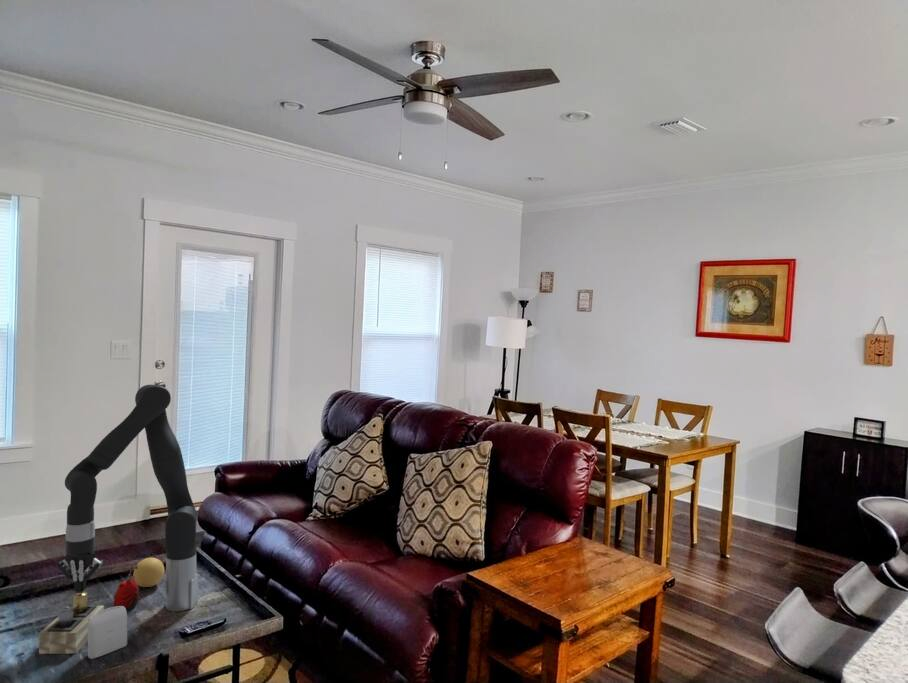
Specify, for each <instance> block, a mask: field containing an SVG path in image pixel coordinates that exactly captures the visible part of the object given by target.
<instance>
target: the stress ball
mask: <svg viewBox="0 0 908 683" xmlns="http://www.w3.org/2000/svg"><path fill="white" fill-rule="evenodd" d="M135 567H138V569H133V577H132V579H135V582H136V584H137V585H138V586H140V587H143V588H145V587H150V588H153V587H154V586H156V585H157V584H159V583H160V582H161V580H162V579H163V577H164V575H165V566H164V563H163V562H162V561H161V560H160V559H158V558H155V557H147V558H146V557H145V558H143V559H141V561H139V562H137V564H136V565H135Z"/></svg>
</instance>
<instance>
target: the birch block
mask: <svg viewBox="0 0 908 683" xmlns="http://www.w3.org/2000/svg"><path fill="white" fill-rule="evenodd" d="M104 609H105V605H97V604H87V611H86V612H85V613H84V614H73V625H72V626H71V627H70V628H58V616H57V617H56V618H55V619H53V620H52V621H51V622H50V623H49V624H48V625H47V626H46V627H44V628H43V629H42V630H41V631H40V632H39V633H38V635H39V636H38V644H39V645H38V646H39V647H38V649H39V650H38V653H39V654H40V655H46V654H47V655H49V654H50V655H52V654H54V655H55V654H58V655H59V654H61V655H62V654H65V655H66V654H77V653H78V652H79V651H80V650H81V649H82V648H83V647H84V645H86V643H88V618H90V617H91V616H92V615H94V614H96V613H98V612H100V611H102V610H104Z"/></svg>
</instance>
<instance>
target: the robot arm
mask: <svg viewBox="0 0 908 683" xmlns="http://www.w3.org/2000/svg"><path fill="white" fill-rule="evenodd" d="M171 400H172V397H171V393H170V391H169V390H168V388H166V387H164V386H162V385H157V384H146V385H143V386H141V387H140V388H139V389H138V390H137V391H136V393H135V398H134V401H135V406H134V408H133V409H132V410H131V412H130V413H129V414H128V416H127V417H125V418H124V419H123V421H121V422H120V423H119V424H118V425H117V426H116V427H114V429H112V430H111V431H110V432H109V433H107V435H105V437H103V438H102V439H101V440H100V442H99V443H97V445H96V446H95V447H94V448H93V450H92V451H91V452H90V453H89V454H88V455H87V456H86V457H85V458H84V459H82V460H81V461H80V462H78V463H77V464H76V465H75V466H74V467H73V468H72V469H71V470H70V471H69V472H68V473H67V475H66V476H65V479H64V486H65V488H66V489H67V490H68V491H69V492H70V503H69V504H68V505H67V508H66V527H65V554H66V555H65V556H64V559H62V560H60V561H59V562H58V563H57V564H56V567H57V568H58V569H59V570H60V572H61V573H62V574H63V576H65V578H66V579H67V580H73V586H74V587H73V589H74V592H75V593H82V592H83V591H85V590H86V589H87V580H89V579H90V578H91V577H93V575H95V573H96V572H97V571H98V570H99V569H100V568H101V566H102V565H103V564H104V560H102V559H98V558H97V555H96V553H95V549H96V548H95V547H96V545H95V544H96V542H95V541H96V527H95V526H96V525H95V501H96V497H97V492H98V482H97V479H96V477H97V476H99V474H100V472H102V471H105V470H108V469H109V468H111V466H112V465H113V464H114V463H115V462H116V461H117V459H119V457H120V455H122V453H123V452H124V451H125V450H126V449H127V448H128V446H129V445H130V444H132V442H133V441H134V439H136V437H137V436H139V434H140V433H141V432H142V431H143V430H145V435H146V443H147V447H148V451H149V457H150V458H149V459H150V461H151V466H152V469H153V472H154V475H155V478H156V480H157V482H158V483H159V486H160V487H161V489H162V491H163V493H164V497H165V500H166V501H165V502H166V506H167V517H166V520H165V526H164V529H165V530H164V532H165V533H164V544H165V545H164V548H165V549H164V550H165V609H166V610H167V611H170V612H182V611H186V610H192V609H193V608H194V606H195V605H196V604H197V602H198V600H199V598H198V597H199V573H197V522H198V512H197V509H196V507H195V505H194V503H193V499H192V496H191V494H190V491H189V487H188V481H187V473H186V469H185V468H186V467H185V463H184V458H183V454H182V449H181V447H180V444H179V442H178V440H177V438H176V435H175V434H174V431H173V429H172V427H171V425H170V423H169V419H168V414H167V411H166V409H168V407H169V406H170V403H171ZM90 566H91V567H92V568H91V569H89V568H90ZM89 570H90V571H89Z"/></svg>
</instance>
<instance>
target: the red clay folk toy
mask: <svg viewBox="0 0 908 683" xmlns="http://www.w3.org/2000/svg"><path fill="white" fill-rule="evenodd" d="M134 565H135V564H133V563H132V564H131V566H127V567H128V568H130V570H129V573H128V579H127V580H124V581H122V582H120V583H119V585H118V588H117V589H116V591H115V592H114V595H113V603H112V604H113V607H115V606H124V607H125V608H126V611H127V610H132V609H134V608H135V607H136V605H138V602H139V601H140V600H139V597H140V594H139V593H140V592H139V591H140V588H139V585H138V584H137V583H136V582H135V579H134V578H131V577H132V571H133V570H134V569H138V567H136V566H134Z"/></svg>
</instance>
